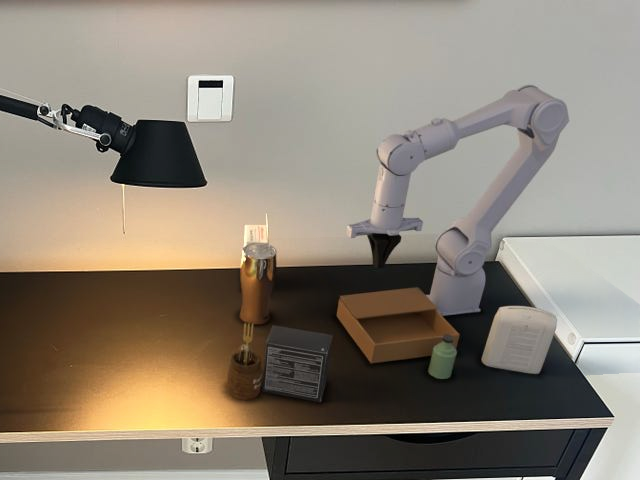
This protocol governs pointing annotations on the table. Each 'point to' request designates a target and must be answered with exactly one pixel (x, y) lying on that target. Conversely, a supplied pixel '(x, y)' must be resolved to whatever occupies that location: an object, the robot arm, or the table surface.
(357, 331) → the carton
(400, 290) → the flap
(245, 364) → the utensil holder
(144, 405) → the table surface
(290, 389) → the small box
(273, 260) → the beer glass
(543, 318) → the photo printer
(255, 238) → the ink cartridge box
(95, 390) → the table surface
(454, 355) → the bottle
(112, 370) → the table surface
